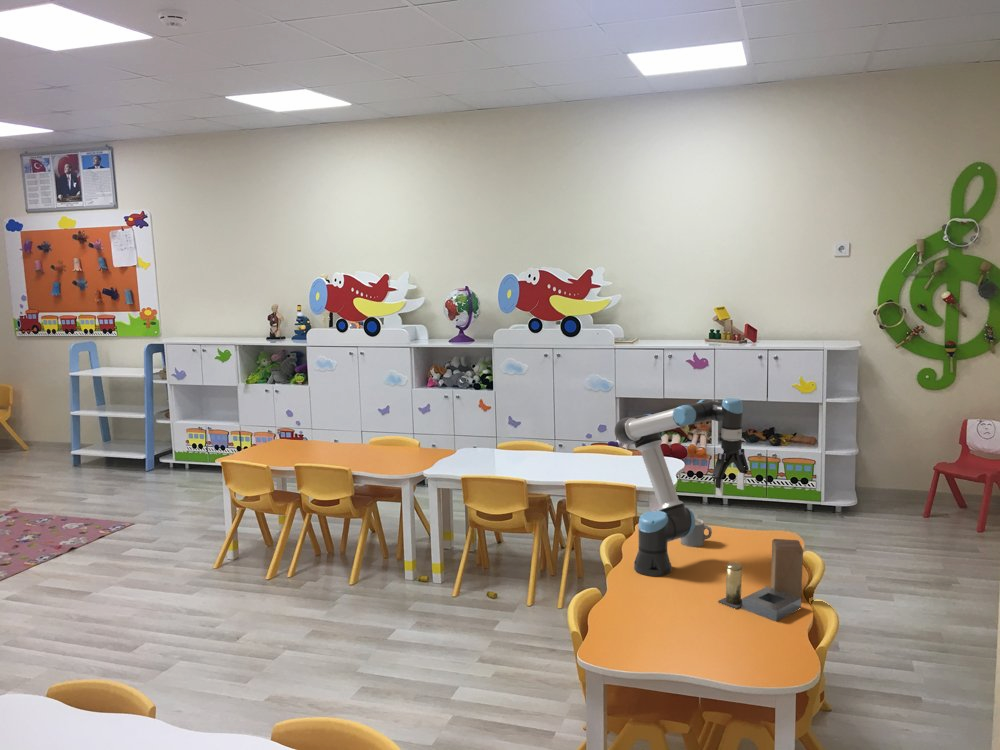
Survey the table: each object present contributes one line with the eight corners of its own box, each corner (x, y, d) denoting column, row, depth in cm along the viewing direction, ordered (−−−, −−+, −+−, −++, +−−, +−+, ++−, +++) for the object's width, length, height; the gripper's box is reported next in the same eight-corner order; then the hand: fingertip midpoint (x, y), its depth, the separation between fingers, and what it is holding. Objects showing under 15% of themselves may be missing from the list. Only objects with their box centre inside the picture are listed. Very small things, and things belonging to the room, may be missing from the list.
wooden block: (801, 599, 304) (803, 548, 301) (773, 598, 306) (775, 547, 303) (797, 589, 313) (799, 539, 310) (770, 587, 315) (771, 537, 312)
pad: (717, 602, 302) (717, 600, 302) (730, 596, 307) (730, 595, 307) (736, 609, 296) (736, 607, 296) (749, 603, 301) (749, 601, 301)
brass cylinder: (722, 601, 302) (723, 565, 300) (731, 597, 305) (732, 561, 303) (735, 605, 298) (736, 569, 296) (743, 601, 301) (744, 565, 299)
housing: (741, 608, 297) (742, 598, 296) (766, 596, 307) (767, 586, 306) (776, 621, 286) (776, 610, 285) (800, 608, 296) (801, 598, 295)
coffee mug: (678, 545, 362) (679, 523, 361) (682, 538, 371) (683, 517, 370) (709, 548, 357) (710, 527, 356) (712, 541, 366) (713, 520, 365)
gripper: (719, 445, 302) (718, 500, 305) (759, 435, 317) (757, 488, 320) (703, 442, 308) (701, 496, 311) (742, 432, 323) (740, 484, 326)
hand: (730, 492), depth 315 cm, fingers open, 13 cm apart
